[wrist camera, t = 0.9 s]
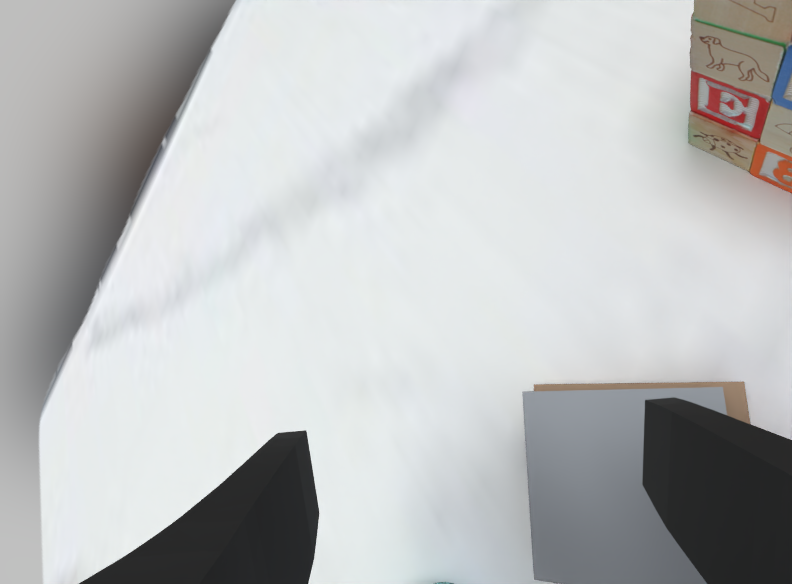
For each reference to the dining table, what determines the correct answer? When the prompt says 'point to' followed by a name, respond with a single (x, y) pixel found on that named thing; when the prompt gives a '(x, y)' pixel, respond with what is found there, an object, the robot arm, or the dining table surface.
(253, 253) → the dining table surface
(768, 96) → the stack of blocks
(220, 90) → the dining table surface
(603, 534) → the grey flat square block
